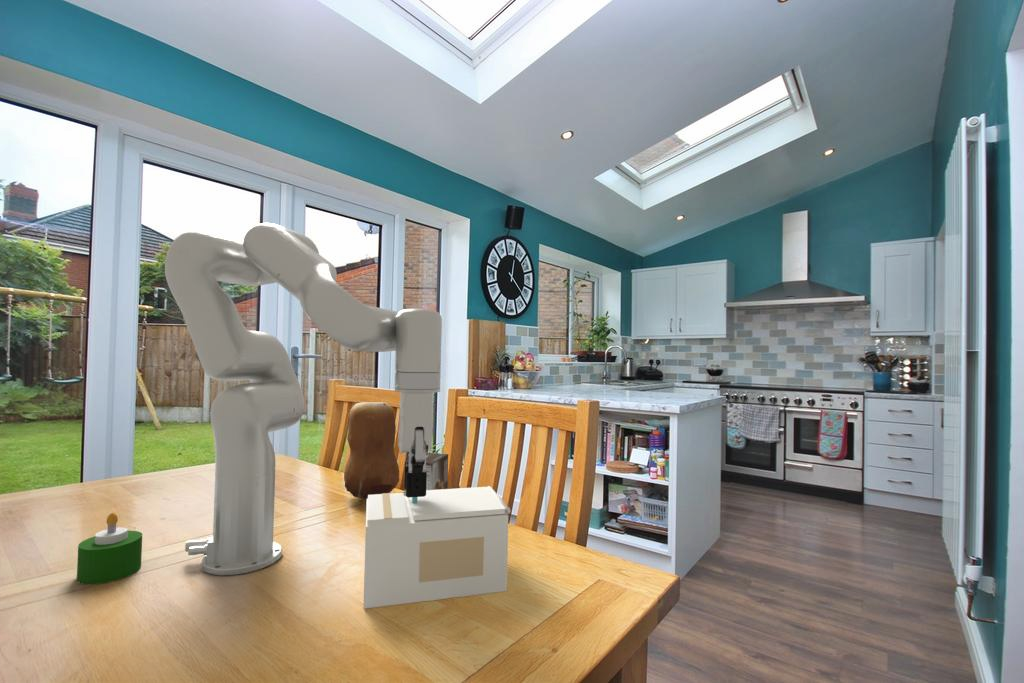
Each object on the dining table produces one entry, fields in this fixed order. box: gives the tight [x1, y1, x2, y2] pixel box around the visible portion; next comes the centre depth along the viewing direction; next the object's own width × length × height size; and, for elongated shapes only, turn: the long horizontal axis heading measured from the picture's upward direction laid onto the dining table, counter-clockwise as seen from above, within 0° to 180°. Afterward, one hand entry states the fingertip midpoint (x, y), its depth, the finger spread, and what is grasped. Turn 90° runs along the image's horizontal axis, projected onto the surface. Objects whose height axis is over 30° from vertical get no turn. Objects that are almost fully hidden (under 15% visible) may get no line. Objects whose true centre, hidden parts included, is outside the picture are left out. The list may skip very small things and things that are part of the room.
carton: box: [363, 492, 509, 610], centre depth 81 cm, size 22×14×13 cm, turn 106°
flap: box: [408, 485, 511, 521], centre depth 82 cm, size 16×13×6 cm
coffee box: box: [403, 452, 449, 496], centre depth 100 cm, size 9×6×16 cm
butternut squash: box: [343, 401, 400, 500], centre depth 123 cm, size 14×13×25 cm
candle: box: [76, 512, 143, 585], centre depth 81 cm, size 8×8×10 cm
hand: (414, 491), depth 80 cm, fingers closed on flap, 3 cm apart
